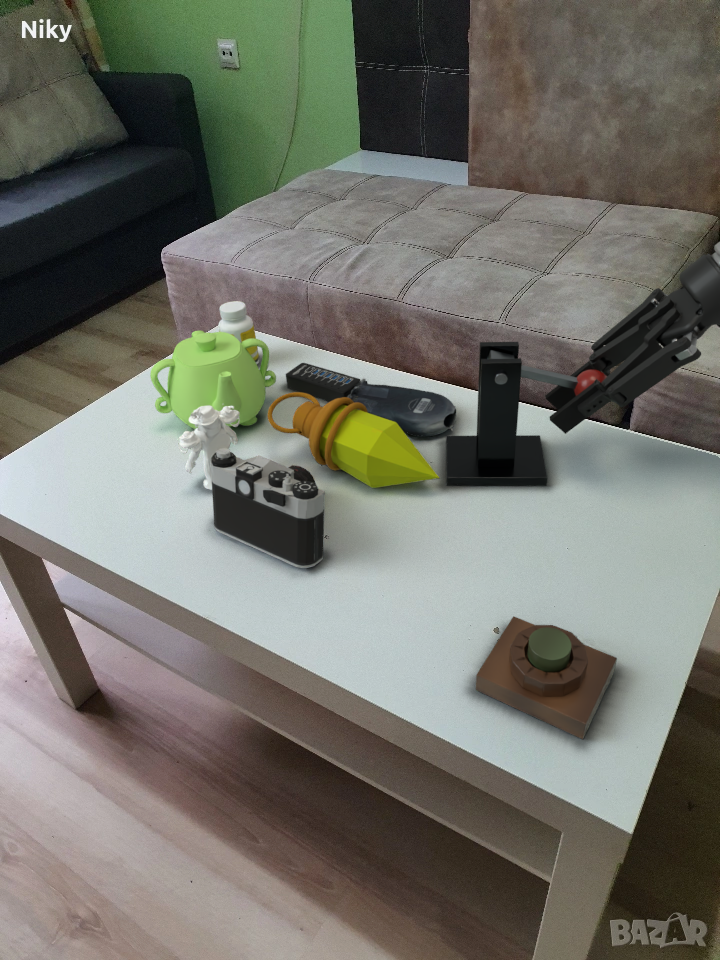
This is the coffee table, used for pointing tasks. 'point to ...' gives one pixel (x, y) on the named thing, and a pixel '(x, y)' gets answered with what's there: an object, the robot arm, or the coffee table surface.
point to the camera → (269, 507)
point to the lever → (555, 375)
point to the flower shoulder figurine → (208, 436)
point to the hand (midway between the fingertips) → (555, 414)
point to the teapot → (214, 377)
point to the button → (549, 649)
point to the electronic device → (407, 407)
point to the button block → (546, 679)
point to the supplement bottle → (238, 324)
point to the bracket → (496, 430)
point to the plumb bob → (356, 441)
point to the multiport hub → (320, 382)
